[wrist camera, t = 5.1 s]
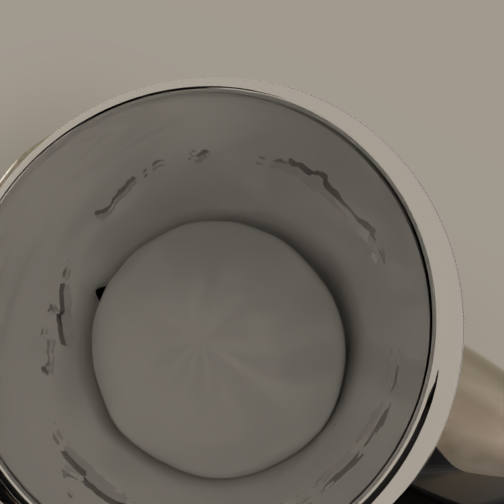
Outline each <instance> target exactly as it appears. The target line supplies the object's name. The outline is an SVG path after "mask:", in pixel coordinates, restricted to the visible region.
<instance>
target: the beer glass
mask: <svg viewBox="0 0 504 504" xmlns="http://www.w3.org/2000/svg"><path fill="white" fill-rule="evenodd" d="M104 286H106V288H105V290H104V292H103V294H102V296H101V299H100V301H99V299H98V297H97V295H96V290H97V289H99V288H101V287H104ZM463 346H464V310H463V299H462V290H461V284H460V278H459V273H458V269H457V265H456V261H455V258H454V254H453V250H452V248H451V244H450V242H449V239H448V236H447V233H446V231H445V228H444V226H443V224H442V221H441V219H440V217H439V215H438V213H437V211H436V209H435V207H434V205H433V203H432V202H431V200H430V198H429V196H428V195H427V193H426V192H425V190H424V188H423V187H422V185H421V184H420V182H419V181H418V180H417V178H416V177H415V175H414V174H413V173H412V171H411V170H410V169H409V168H408V166H407V165H406V164H405V163H404V162H403V161H402V159H401V158H400V157H399V156H398V155H397V154H396V153H395V152H394V151H393V150H392V149H391V148H390V147H389V146H388V145H387V144H386V143H385V142H384V141H383V140H382V139H381V138H380V137H379V136H377V135H376V134H375V133H374V132H372V131H371V130H370V129H369V128H367V127H366V126H365V125H363V124H362V123H361V122H359V121H358V120H356V119H355V118H353V117H352V116H350V115H349V114H347V113H345V112H344V111H342V110H340V109H339V108H337V107H335V106H333V105H331V104H329V103H327V102H325V101H323V100H321V99H319V98H316V97H314V96H312V95H309V94H307V93H304V92H301V91H298V90H295V89H292V88H289V87H286V86H282V85H278V84H274V83H269V82H264V81H259V80H252V79H244V78H232V77H201V78H189V79H181V80H174V81H169V82H164V83H159V84H155V85H151V86H148V87H144V88H140V89H137V90H134V91H131V92H128V93H125V94H123V95H120V96H118V97H115V98H113V99H110V100H108V101H106V102H104V103H102V104H100V105H98V106H96V107H94V108H92V109H90V110H88V111H87V112H85V113H83V114H81V115H80V116H78V117H76V118H75V119H73V120H72V121H70V122H69V123H67V124H66V125H64V126H63V127H61V128H60V129H59V130H57V131H56V132H55V133H53V134H52V135H51V136H50V137H48V138H47V139H46V140H45V141H44V142H42V143H41V144H40V145H39V146H38V147H37V148H36V149H35V150H34V151H33V152H31V153H30V154H29V155H28V156H27V157H26V158H25V159H24V161H23V162H22V163H21V164H20V165H19V166H18V167H17V168H16V169H15V171H14V172H13V173H12V174H11V175H10V177H9V178H8V179H7V180H6V182H5V183H4V184H3V186H2V187H1V188H0V485H1V487H2V488H3V489H4V491H5V492H6V493H7V494H8V496H9V497H10V498H11V499H12V500H13V502H14V503H15V504H397V503H398V502H399V500H400V499H401V498H402V497H403V496H404V495H405V493H406V492H407V491H408V490H409V488H410V487H411V486H412V484H413V483H414V482H415V480H416V479H417V477H418V476H419V474H420V473H421V471H422V470H423V468H424V467H425V465H426V463H427V462H428V460H429V458H430V457H431V455H432V453H433V451H434V449H435V447H436V445H437V443H438V441H439V439H440V437H441V434H442V432H443V430H444V427H445V425H446V422H447V420H448V417H449V414H450V411H451V408H452V405H453V401H454V398H455V394H456V391H457V386H458V382H459V377H460V372H461V365H462V357H463Z"/></svg>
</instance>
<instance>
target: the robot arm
mask: <svg viewBox="0 0 504 504" xmlns="http://www.w3.org/2000/svg"><path fill="white" fill-rule="evenodd" d="M105 288H106V286H104V287H101V288H99V289H97V290H96V295H97V297H98V299H99V301H100V299H101V296H102V294H103V292H104V290H105ZM0 501H1V502H2V503H3V504H15V503H14V502H13V500H12V499H11V498H10V497H9V496H8V494H7V493H6V492H5V491H4V489H3V488H2V487H1V485H0ZM397 504H504V477H497V476H488V475H481V474H474V473H468V472H464V471H462V470H460V469H458V468H456V467H455V466H453V465H452V464H451V463H450V462H449V461H448V460H447V459H446V458H445V456H444V455H443V454H442V453H441V452H440V451H439V449H438V448H437V447H435V449H434V451H433V453H432V455H431V457H430V458H429V460H428V462H427V463H426V465H425V467H424V468H423V470H422V471H421V473H420V474H419V476H418V477H417V479H416V480H415V482H414V483H413V484H412V486H411V487H410V488H409V490H408V491H407V492H406V493H405V495H404V496H403V497H402V498H401V499H400V500H399V502H398V503H397Z"/></svg>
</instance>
